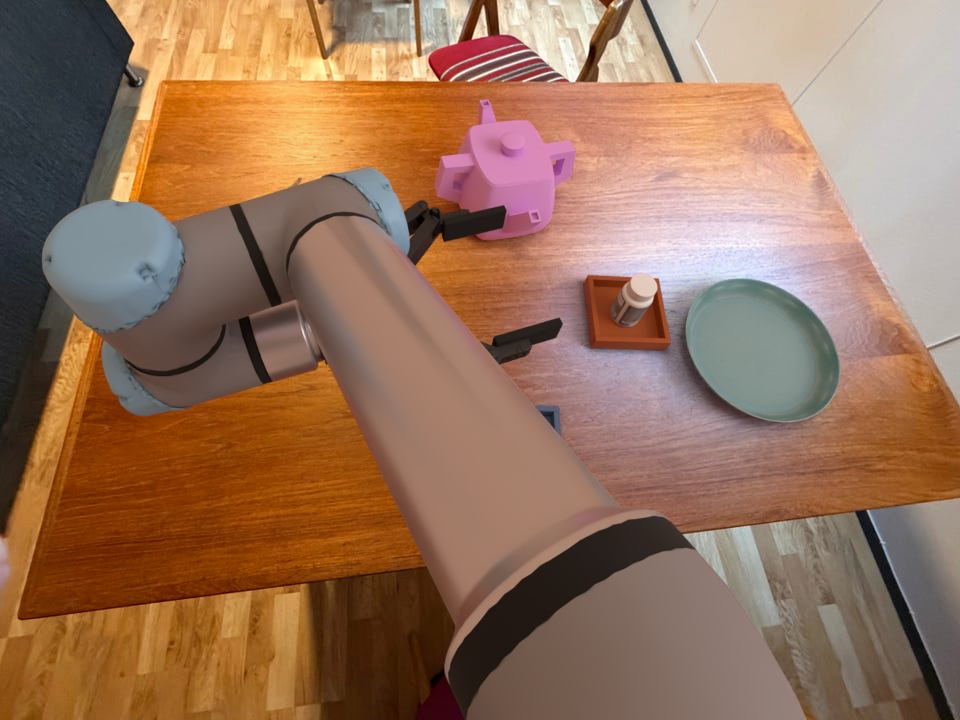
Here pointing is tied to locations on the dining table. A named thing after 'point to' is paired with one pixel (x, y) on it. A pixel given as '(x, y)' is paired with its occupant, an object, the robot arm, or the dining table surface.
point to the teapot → (506, 173)
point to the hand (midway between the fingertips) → (529, 269)
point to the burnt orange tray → (613, 336)
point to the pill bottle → (633, 300)
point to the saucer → (762, 350)
